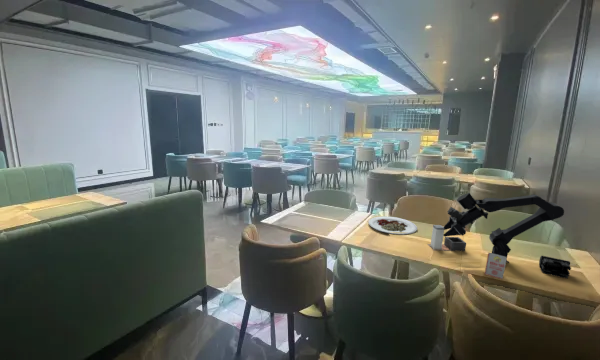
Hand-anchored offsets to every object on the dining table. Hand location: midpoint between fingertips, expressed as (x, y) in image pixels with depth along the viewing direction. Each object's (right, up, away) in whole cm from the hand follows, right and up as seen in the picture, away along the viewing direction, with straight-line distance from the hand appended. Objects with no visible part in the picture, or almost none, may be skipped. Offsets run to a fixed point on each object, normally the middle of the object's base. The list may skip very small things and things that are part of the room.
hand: (443, 232), depth 149 cm
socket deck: (+3, -10, +3) cm, 11 cm away
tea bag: (+12, -16, -21) cm, 29 cm away
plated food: (-16, -3, +33) cm, 37 cm away
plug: (-2, -9, +3) cm, 9 cm away
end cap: (+42, -16, -18) cm, 48 cm away
